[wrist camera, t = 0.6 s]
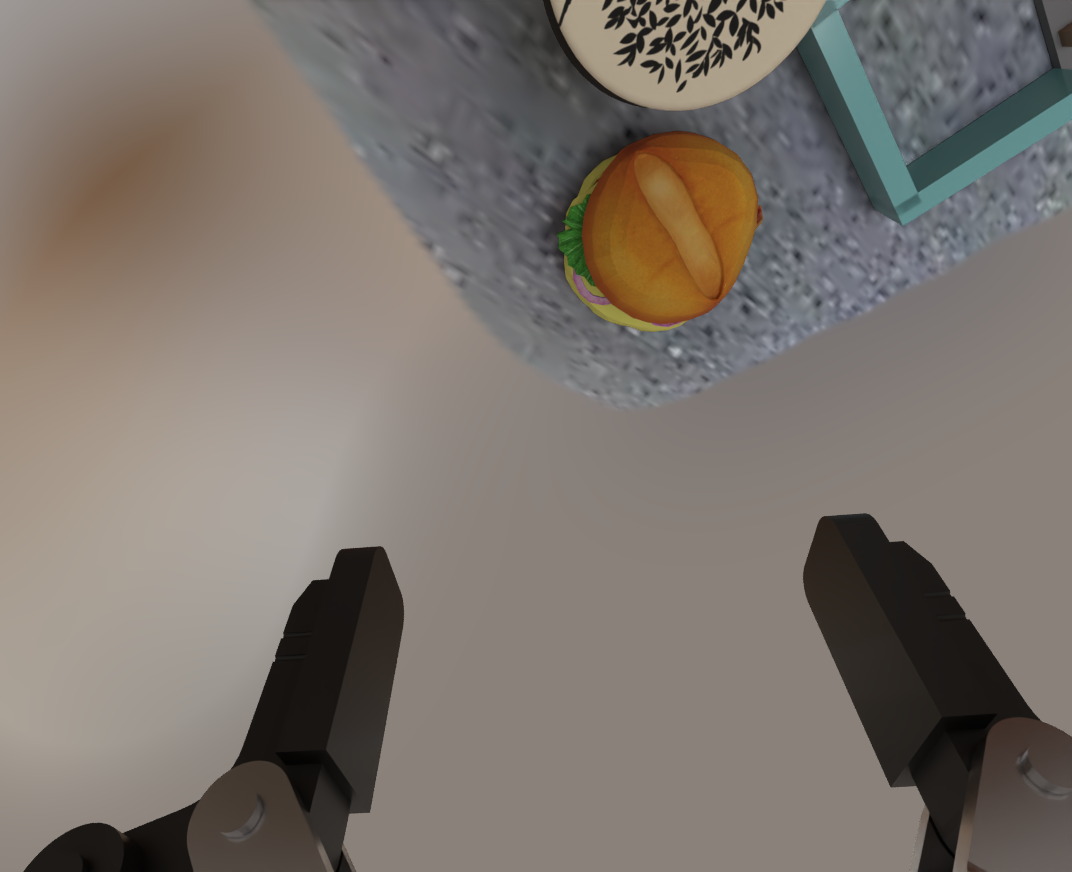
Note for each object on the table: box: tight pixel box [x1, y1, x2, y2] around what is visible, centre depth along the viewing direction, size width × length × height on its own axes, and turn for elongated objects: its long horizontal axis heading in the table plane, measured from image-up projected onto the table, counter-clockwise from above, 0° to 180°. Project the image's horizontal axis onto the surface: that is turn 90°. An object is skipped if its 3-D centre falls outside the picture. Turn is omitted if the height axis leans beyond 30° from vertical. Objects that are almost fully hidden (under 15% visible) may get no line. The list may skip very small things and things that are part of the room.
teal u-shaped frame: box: [796, 0, 1072, 226], centre depth 29 cm, size 10×12×4 cm
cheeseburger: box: [556, 131, 763, 332], centre depth 32 cm, size 10×11×10 cm
